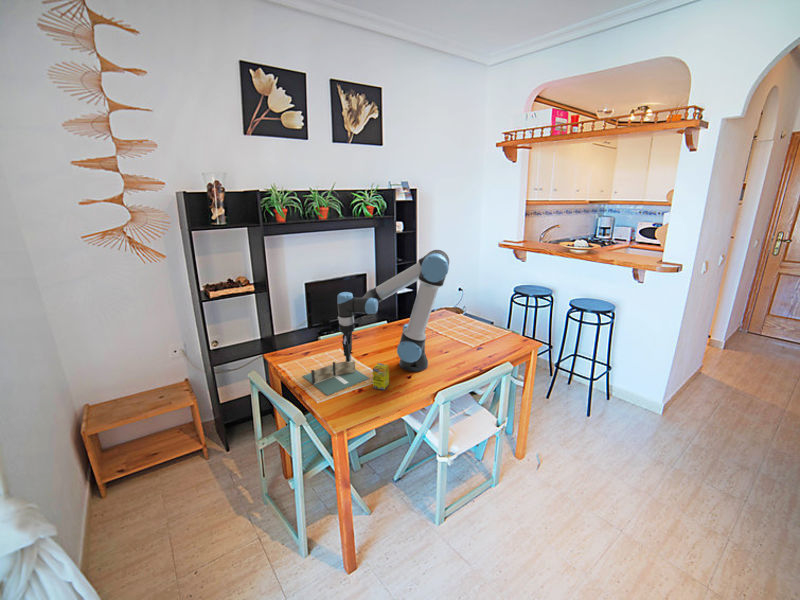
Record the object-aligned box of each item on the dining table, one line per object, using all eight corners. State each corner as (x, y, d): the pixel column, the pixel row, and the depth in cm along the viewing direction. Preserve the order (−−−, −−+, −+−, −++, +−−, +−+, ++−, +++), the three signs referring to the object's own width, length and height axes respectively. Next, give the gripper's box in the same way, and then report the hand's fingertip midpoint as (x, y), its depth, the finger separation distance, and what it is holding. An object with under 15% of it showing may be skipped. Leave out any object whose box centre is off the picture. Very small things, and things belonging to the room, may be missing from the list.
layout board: (369, 378, 187) (369, 377, 187) (327, 395, 172) (327, 394, 172) (343, 362, 204) (342, 361, 204) (302, 376, 189) (302, 375, 189)
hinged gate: (333, 375, 189) (332, 363, 187) (333, 374, 190) (332, 362, 188) (355, 372, 192) (354, 360, 190) (354, 370, 193) (354, 359, 191)
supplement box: (372, 388, 178) (372, 368, 174) (378, 382, 183) (377, 362, 180) (384, 391, 176) (384, 370, 172) (389, 385, 181) (389, 364, 178)
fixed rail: (331, 375, 189) (330, 363, 187) (333, 376, 188) (332, 364, 186) (311, 382, 182) (310, 370, 180) (313, 384, 181) (312, 371, 179)
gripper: (341, 318, 192) (344, 359, 199) (335, 328, 179) (338, 371, 187) (356, 318, 191) (358, 360, 198) (351, 328, 179) (353, 372, 186)
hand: (348, 365), depth 193 cm, fingers closed
